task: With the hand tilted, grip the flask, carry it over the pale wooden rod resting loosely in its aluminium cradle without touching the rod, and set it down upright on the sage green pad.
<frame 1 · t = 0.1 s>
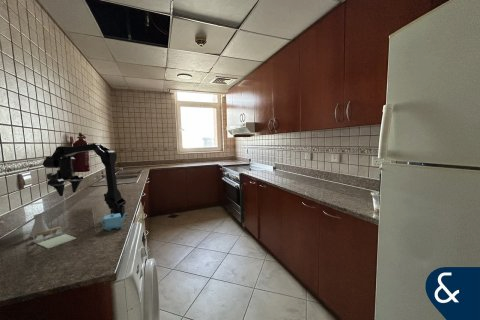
hand: (67, 194, 119), 15 cm above the countertop, tool pointing down, fingers open, 9 cm apart
pad: (57, 241, 91), on the countertop
cradle: (48, 237, 95), on the countertop
teapot: (115, 228, 105), on the countertop
rod: (48, 233, 94), point 2 cm above the countertop, touching cradle
flask: (40, 235, 98), on the countertop
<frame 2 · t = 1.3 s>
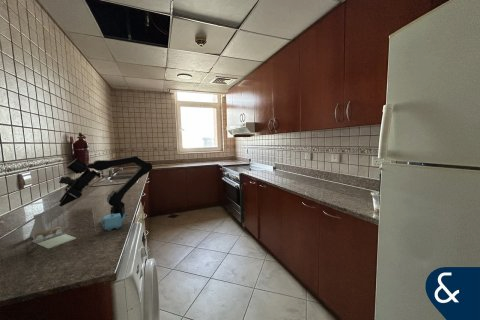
hand: (60, 204, 103), 13 cm above the countertop, tool tilted 45°, fingers open, 9 cm apart
nothing on the countertop moved.
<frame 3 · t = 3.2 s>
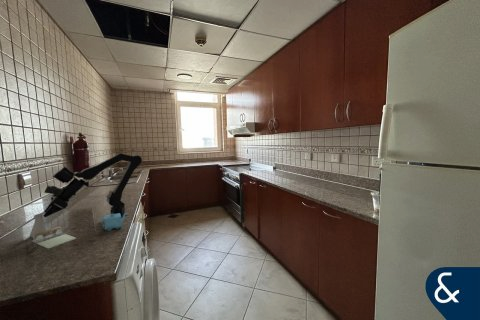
hand: (44, 214, 99), 9 cm above the countertop, tool tilted 45°, fingers open, 9 cm apart
nothing on the countertop moved.
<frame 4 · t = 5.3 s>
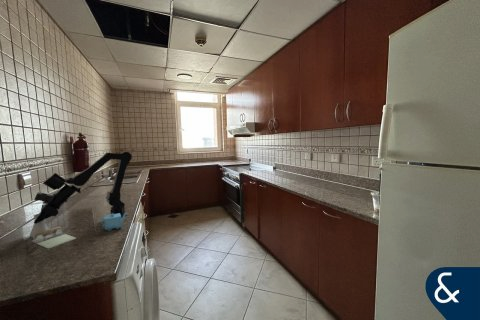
hand: (34, 222, 97), 7 cm above the countertop, tool tilted 45°, fingers closed on flask, 3 cm apart
flask: (40, 235, 98), on the countertop, touching gripper
everything else where it was.
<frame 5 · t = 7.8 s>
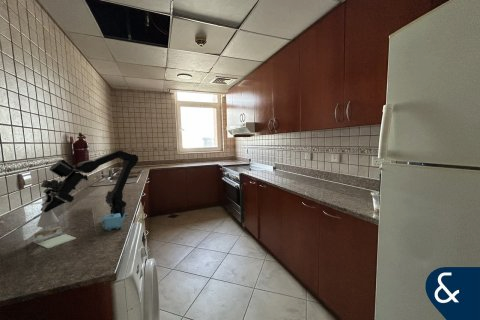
hand: (43, 211, 92), 13 cm above the countertop, tool tilted 45°, fingers closed on flask, 3 cm apart
flask: (48, 224, 94), point 6 cm above the countertop, touching gripper
everything else where it was.
when the fingers open (8 cm above the countertop, at t = 10.5 s): flask stays where it is, resting on pad.
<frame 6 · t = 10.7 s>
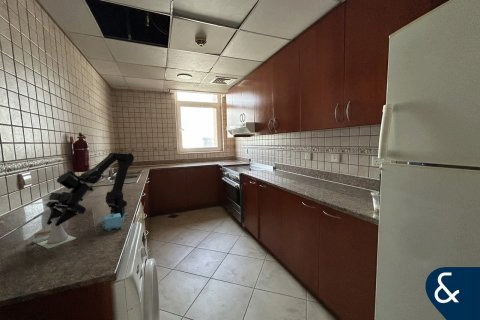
hand: (52, 225, 89), 8 cm above the countertop, tool tilted 45°, fingers open, 5 cm apart
flask: (57, 240, 91), resting on pad
everything else where it was.
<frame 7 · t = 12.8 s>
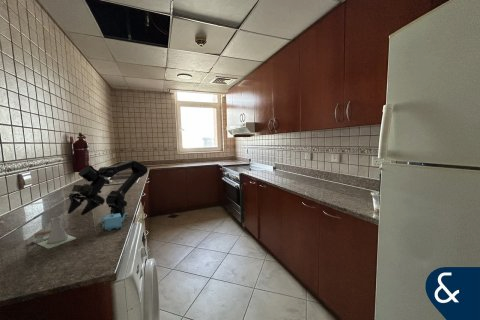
hand: (75, 214, 98), 10 cm above the countertop, tool tilted 45°, fingers open, 9 cm apart
nothing on the countertop moved.
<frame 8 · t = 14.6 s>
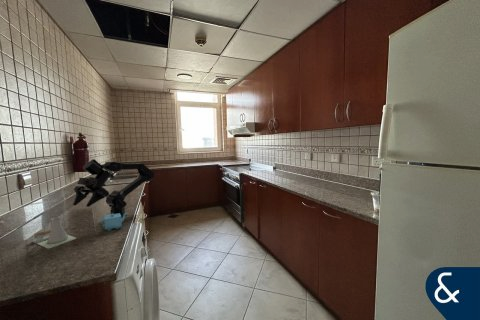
hand: (80, 205, 101), 13 cm above the countertop, tool tilted 45°, fingers open, 9 cm apart
nothing on the countertop moved.
at the end: flask inside the target area on the pad (0.2 cm from its centre), point 0.2 cm above the pad's base; flask tilted 0°; rod moved 0.0 cm from its start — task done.
